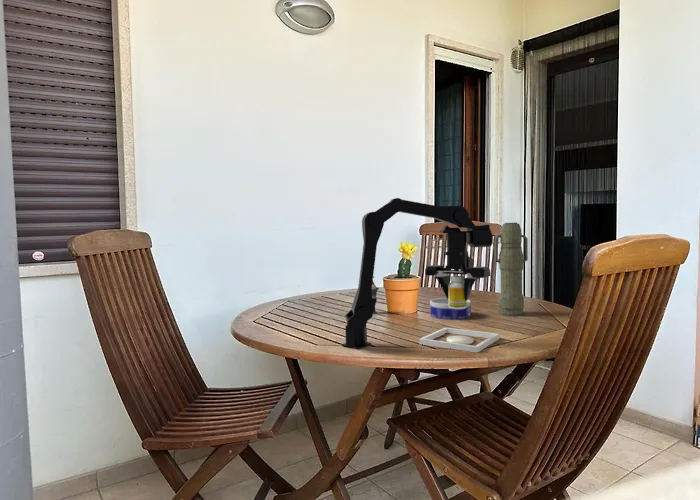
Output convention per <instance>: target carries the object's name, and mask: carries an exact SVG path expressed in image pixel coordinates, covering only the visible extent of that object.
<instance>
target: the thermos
mask: <svg viewBox="0 0 700 500" xmlns="http://www.w3.org/2000/svg"><path fill="white" fill-rule="evenodd" d="M522 238H523V247H522ZM499 239H500V252H499V250H498V249H499V248H498V247H499V245H498V240H499ZM528 241H529V240H528V238H527V237H526V235H525V234H522V227H521V225H520V223H518V222H504V223H503V224H502V225H501V229H500V234H497V235H496V236H495V237H494V262H496V263H497V264H498V265H499V267H498V268H499V272H500V293H499V297H498V298H499V299H498V300H499V314H500V315H501V316H505V317H507V316H508V317H520V316H523V315H524V308H525V297H524V294H523V271H524V264H525V263H526V262H527V261H528V260H529V259H528V254H529V251H528V249H529V248H528ZM522 248H523V249H522ZM523 251H524V252H523Z"/></svg>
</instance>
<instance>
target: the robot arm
mask: <svg viewBox="0 0 700 500" xmlns="http://www.w3.org/2000/svg"><path fill="white" fill-rule="evenodd" d="M397 213H402V214H409V215H413V216H419V217H425V218H430V219H431V218H432V219H434V220H437V221H438V222H441V223H444V224H445V225H444V226H443V228H442V229H441V230H439V233H440V234H446V251H445V252H444V254H445V255H444V256H446V265H445V266H444V265H443V264H442V265H441V264H440V265H439V264H431V265H426V267H425V269H424V275H425V276H433V277H434V279H436V280H437V282H438V283H439V285H440V287H441V288H442V291H443V293H444V295H445V298H447V299H448V285H449V284H450V281H451V280H450V277H451V275H464V276H465V275H466V277H464V281H463V283H464V296H465V301H467V300H469V298H470V295H471V291H472V289H473V286H474V284H475V282H476V281H477V280H479V279H485V278H488V277H490V276H491V268H490V267H489V266H474V264H475V260H474V259H473V258H472V257H470V255H469V250H467V245H469V248H471V249H472V248H490V247H492V244H493V243H494V242H493V241H494V236H493V232H492V230H491V228H490V224H481V225H476V224H475V223H474V222H473V221H472V219H471V218H470V217H469V213H468V210H467V209H466V207H464V206H462V205H433V204H428V203H422V202H419V201H418V202H417V201H412V200H407V199H401V198H400V197H396V198H395V197H394V198H392V199H390V200H389V202H387V203H386V204H384V205H383V206H382V207H380V208H378V209H377V210H375V211H371V212H370V211H369V212H367V213H365V214H364V215H363V217H362V218H361V232H362V238H363V245H362V254H361V262H360V270H359V278H358V285H357V290H356V293H355V295H354V298H353V301H352V304H351V309H350V310H349V311H348V312H347V313H346V314H345V315H344V318H345V320H346V321H345V322H346V323H347V324H346V325H345V342H344V343H341V347H345V348H351V349H358V350H361V349H363V348H364V347H368V346H370V345H372V342H371V341H370V342H369V341H368V330H367V329H368V328H367V323H368V321H369V320H370V319H372V318H373V315H374V314H373V311H374V312H377V311H376V305H377V301H378V298H377V296H376V297H375V296H372V282H374V280H373V279H374V277H373V276H374V271H375V264H376V255H377V247H378V242H379V240H380V237H381V235H382V232H383V230H384V226H385V225H384V224H385V222H387V221H388V220H390V219H391V218H392V217H394V216H395V215H396V214H397ZM449 225H450V226H455V227H450V226H449ZM461 229H466V230H461Z"/></svg>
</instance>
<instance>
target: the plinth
mask: <svg viewBox="0 0 700 500" xmlns="http://www.w3.org/2000/svg"><path fill="white" fill-rule="evenodd" d="M445 339H446V341H445V342H451V343H458V344H465V345H471V344H473V343H474V342H475V341H474V340H475V339H474V338H473V336H467V335H451V336H447V337H445Z"/></svg>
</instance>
